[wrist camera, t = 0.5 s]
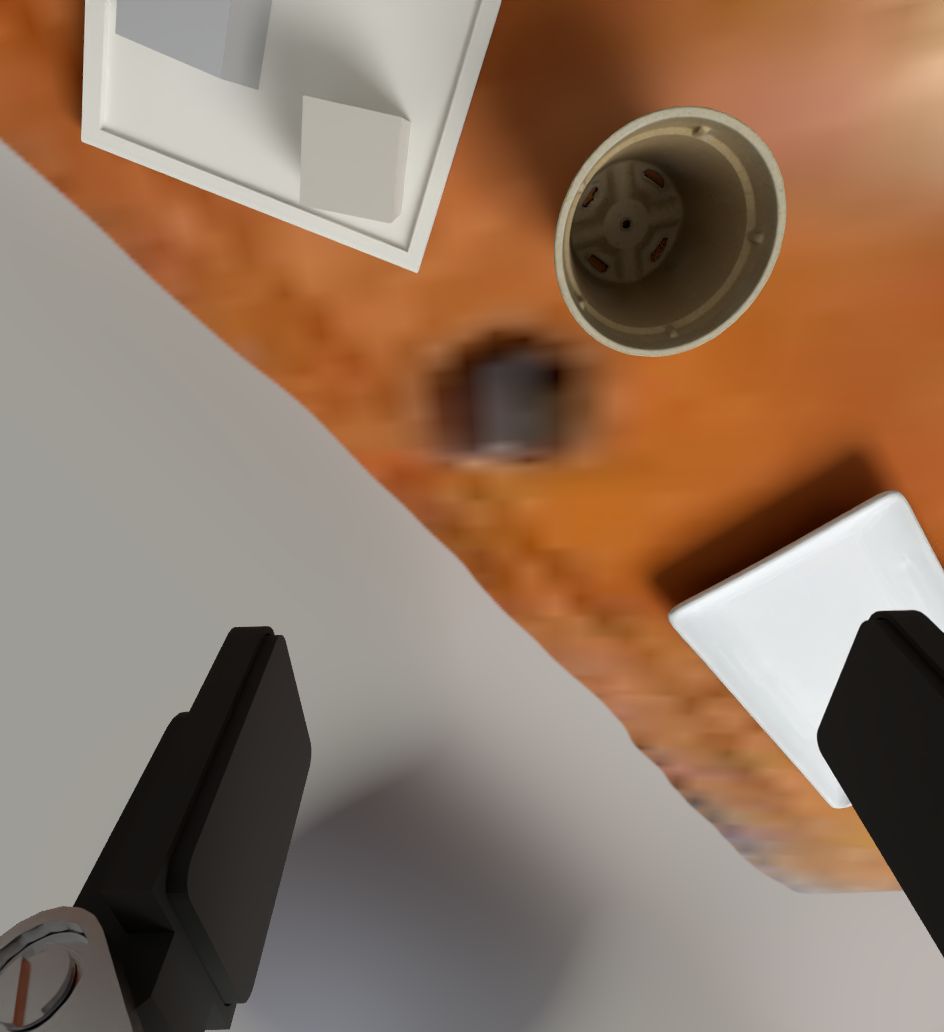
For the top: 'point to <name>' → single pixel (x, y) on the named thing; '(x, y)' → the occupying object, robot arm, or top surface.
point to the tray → (811, 620)
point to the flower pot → (670, 231)
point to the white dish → (297, 106)
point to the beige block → (353, 160)
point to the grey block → (202, 33)
